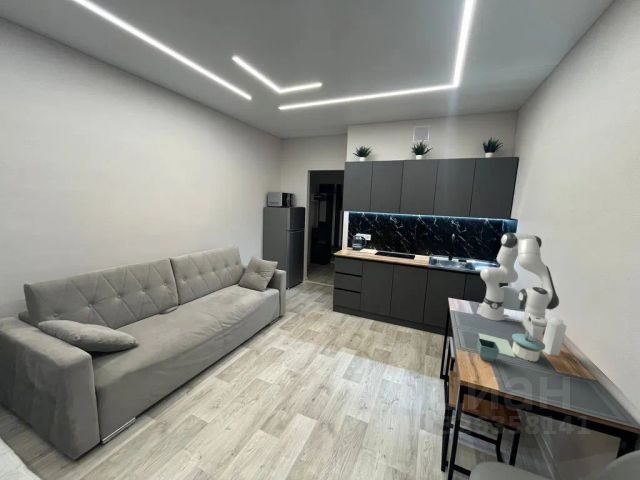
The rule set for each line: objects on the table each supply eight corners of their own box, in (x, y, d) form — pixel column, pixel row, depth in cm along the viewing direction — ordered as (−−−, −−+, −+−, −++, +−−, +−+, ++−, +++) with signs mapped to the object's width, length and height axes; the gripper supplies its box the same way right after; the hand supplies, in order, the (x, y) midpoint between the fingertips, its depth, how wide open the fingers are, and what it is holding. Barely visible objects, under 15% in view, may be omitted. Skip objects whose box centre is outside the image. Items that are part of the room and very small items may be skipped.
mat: (478, 333, 171) (478, 333, 171) (507, 341, 164) (507, 340, 164) (482, 349, 153) (483, 348, 153) (515, 357, 146) (515, 357, 146)
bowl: (510, 346, 158) (512, 337, 157) (534, 352, 153) (536, 343, 152) (515, 357, 147) (517, 347, 146) (541, 364, 142) (543, 354, 141)
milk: (549, 349, 158) (558, 316, 154) (559, 355, 152) (568, 321, 148) (540, 349, 157) (548, 315, 154) (549, 355, 151) (558, 320, 148)
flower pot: (496, 365, 138) (500, 350, 137) (478, 360, 141) (481, 345, 140) (492, 356, 146) (495, 341, 145) (474, 351, 149) (477, 337, 148)
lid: (509, 332, 158) (511, 324, 158) (539, 340, 152) (541, 331, 151) (515, 344, 145) (517, 336, 144) (549, 353, 139) (551, 344, 138)
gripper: (522, 308, 156) (517, 328, 159) (532, 321, 138) (527, 345, 140) (535, 310, 154) (530, 331, 156) (547, 325, 135) (541, 348, 138)
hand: (528, 338), depth 148 cm, fingers closed on lid, 3 cm apart
